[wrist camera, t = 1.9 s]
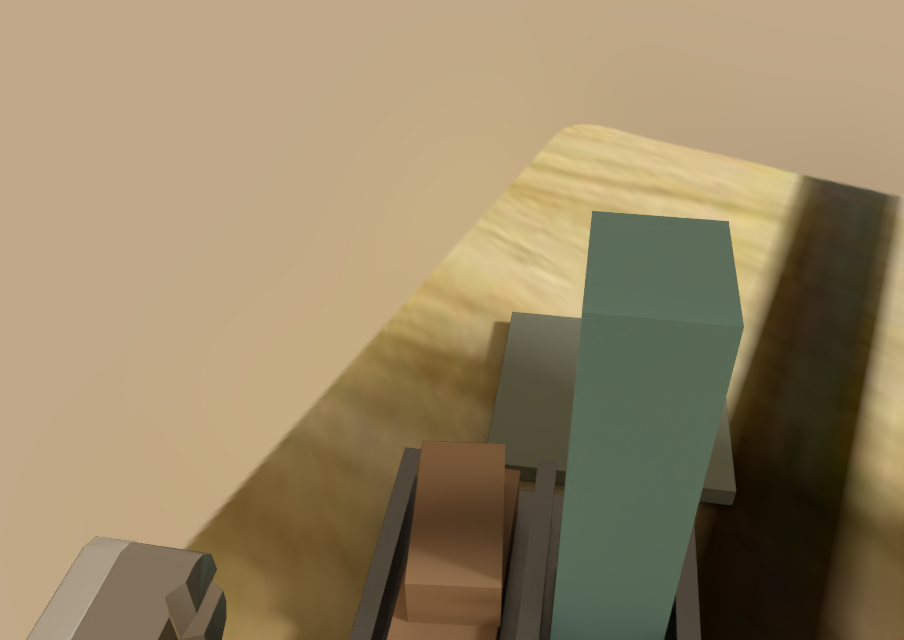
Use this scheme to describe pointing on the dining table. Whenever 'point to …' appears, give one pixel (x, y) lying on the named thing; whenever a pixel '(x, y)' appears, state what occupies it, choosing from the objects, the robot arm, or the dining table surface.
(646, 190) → the dining table surface
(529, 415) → the rubber mat
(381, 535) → the rack
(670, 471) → the teal rectangular block
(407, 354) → the dining table surface
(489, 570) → the upper walnut offcut
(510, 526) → the lower walnut offcut
